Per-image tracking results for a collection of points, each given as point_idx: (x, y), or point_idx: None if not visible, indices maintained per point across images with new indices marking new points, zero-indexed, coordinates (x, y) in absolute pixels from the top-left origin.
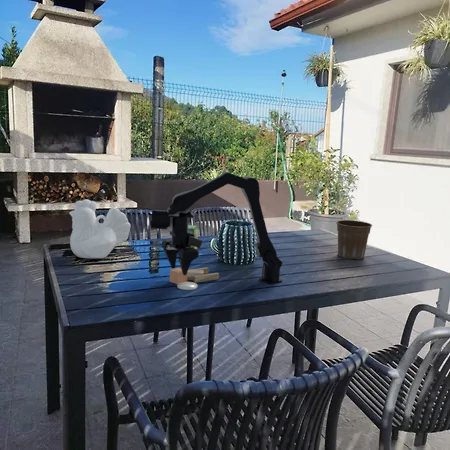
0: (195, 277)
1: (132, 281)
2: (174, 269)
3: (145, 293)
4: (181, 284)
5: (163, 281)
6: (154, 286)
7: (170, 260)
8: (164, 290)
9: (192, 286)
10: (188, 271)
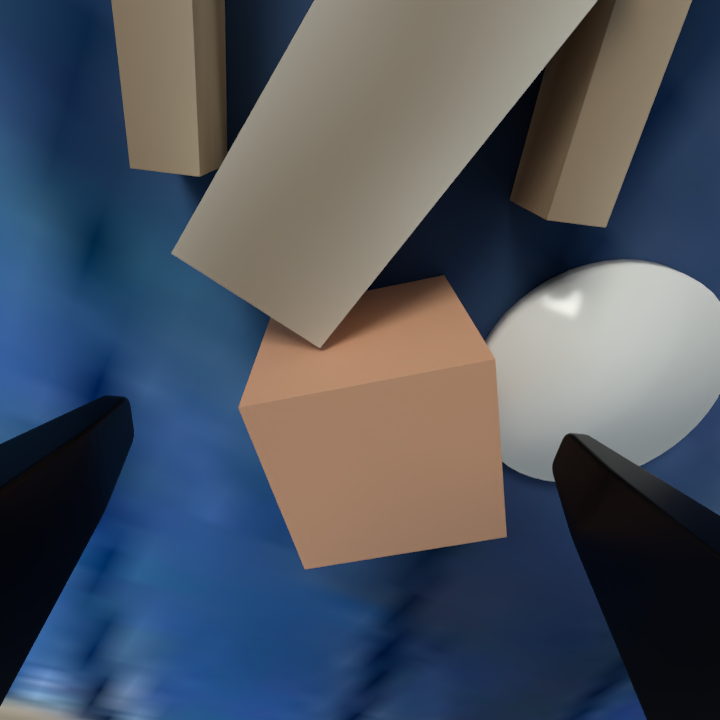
0: (601, 223)
1: (159, 651)
2: (318, 514)
3: (466, 668)
4: (534, 431)
5: None
6: (368, 588)
7: (40, 604)
8: (507, 571)
9: (687, 370)
10: (355, 218)
